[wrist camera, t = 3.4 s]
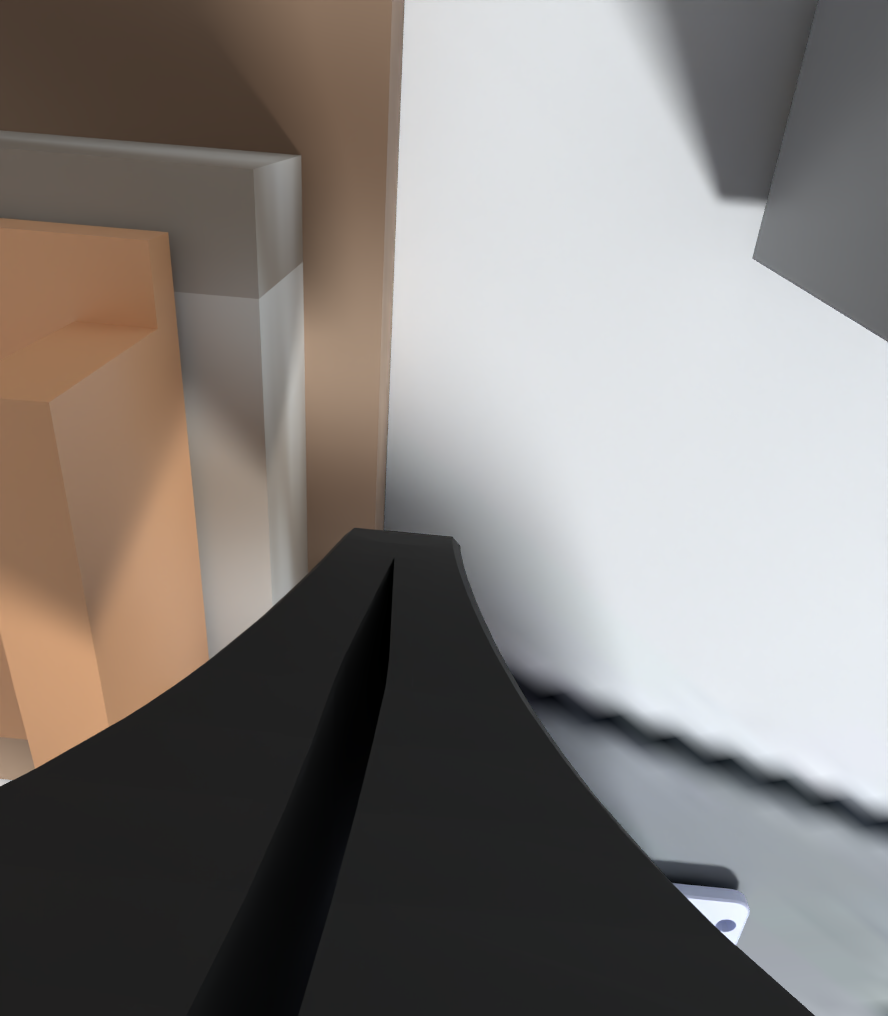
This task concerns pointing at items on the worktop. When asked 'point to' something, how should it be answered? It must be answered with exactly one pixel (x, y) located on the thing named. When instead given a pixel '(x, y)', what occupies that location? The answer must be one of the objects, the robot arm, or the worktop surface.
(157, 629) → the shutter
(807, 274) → the plug
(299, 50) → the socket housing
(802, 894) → the worktop surface
